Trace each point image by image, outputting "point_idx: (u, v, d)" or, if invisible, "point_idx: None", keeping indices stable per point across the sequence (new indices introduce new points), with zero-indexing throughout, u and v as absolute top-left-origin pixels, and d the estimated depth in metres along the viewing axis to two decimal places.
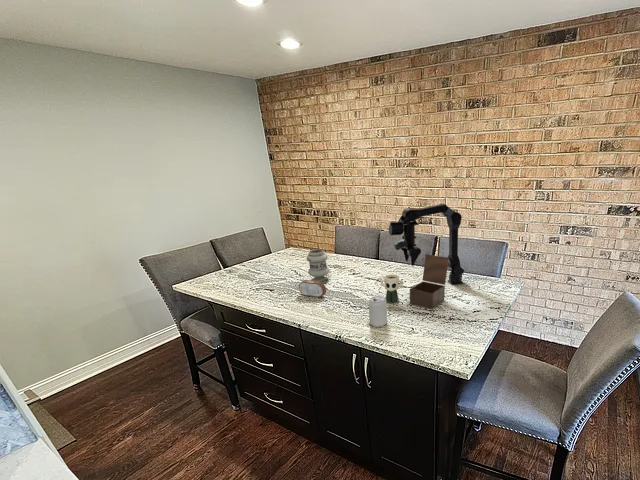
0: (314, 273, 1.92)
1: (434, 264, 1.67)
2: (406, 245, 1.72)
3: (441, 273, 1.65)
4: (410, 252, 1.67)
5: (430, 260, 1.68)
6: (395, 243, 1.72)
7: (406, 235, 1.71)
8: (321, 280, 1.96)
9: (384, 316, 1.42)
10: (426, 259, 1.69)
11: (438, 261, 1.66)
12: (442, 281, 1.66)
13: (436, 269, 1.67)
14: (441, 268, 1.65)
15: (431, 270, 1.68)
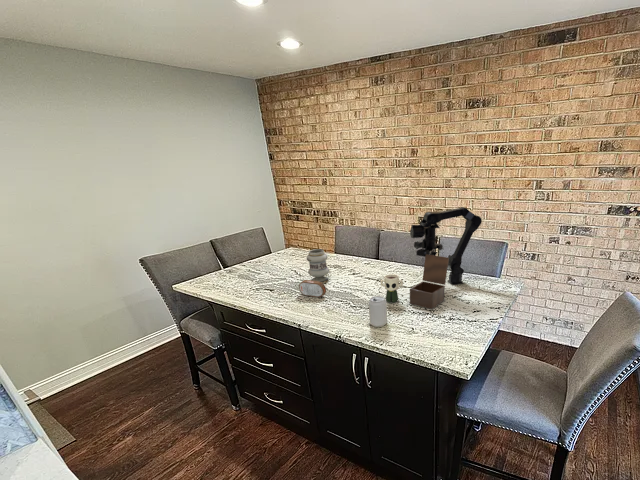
0: (314, 273, 1.92)
1: (434, 264, 1.67)
2: (422, 246, 1.79)
3: (441, 273, 1.65)
4: (416, 253, 1.75)
5: (430, 260, 1.68)
6: None
7: None
8: (321, 280, 1.96)
9: (384, 316, 1.42)
10: (426, 259, 1.69)
11: (438, 261, 1.66)
12: (442, 281, 1.66)
13: (436, 269, 1.67)
14: (441, 268, 1.65)
15: (431, 270, 1.68)
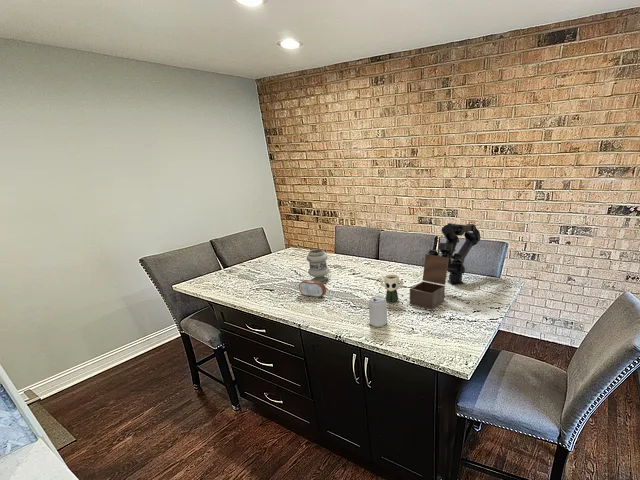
0: (314, 273, 1.92)
1: (434, 264, 1.67)
2: (451, 251, 1.72)
3: (441, 273, 1.65)
4: (460, 256, 1.68)
5: (430, 260, 1.68)
6: None
7: (452, 243, 1.74)
8: (321, 280, 1.96)
9: (384, 316, 1.42)
10: (426, 259, 1.69)
11: (438, 261, 1.66)
12: (442, 281, 1.66)
13: (436, 269, 1.67)
14: (441, 268, 1.65)
15: (431, 270, 1.68)
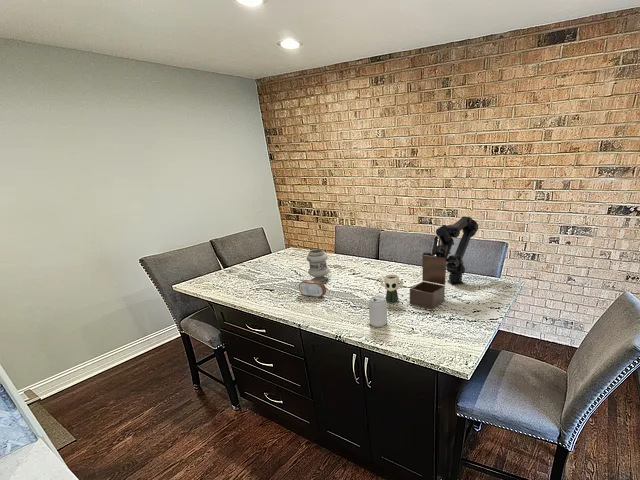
0: (314, 273, 1.92)
1: (432, 265, 1.65)
2: (445, 253, 1.67)
3: (440, 274, 1.65)
4: (455, 259, 1.63)
5: (428, 261, 1.66)
6: None
7: (447, 245, 1.69)
8: (321, 280, 1.96)
9: (384, 316, 1.42)
10: (424, 260, 1.67)
11: (436, 262, 1.64)
12: (442, 281, 1.65)
13: (435, 269, 1.65)
14: (439, 269, 1.64)
15: (430, 270, 1.67)
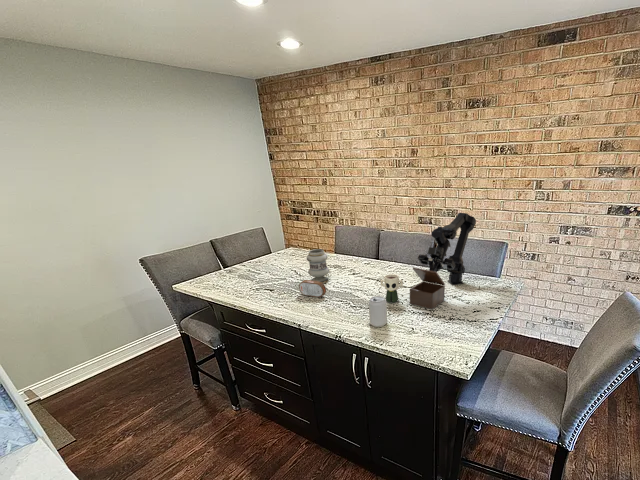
0: (314, 273, 1.92)
1: (425, 274, 1.62)
2: (441, 256, 1.63)
3: (436, 279, 1.62)
4: (451, 261, 1.60)
5: (420, 272, 1.62)
6: (434, 248, 1.61)
7: (443, 247, 1.66)
8: (321, 280, 1.96)
9: (384, 316, 1.42)
10: (416, 271, 1.62)
11: (428, 273, 1.59)
12: (441, 283, 1.65)
13: (430, 277, 1.63)
14: (434, 277, 1.61)
15: (425, 277, 1.65)
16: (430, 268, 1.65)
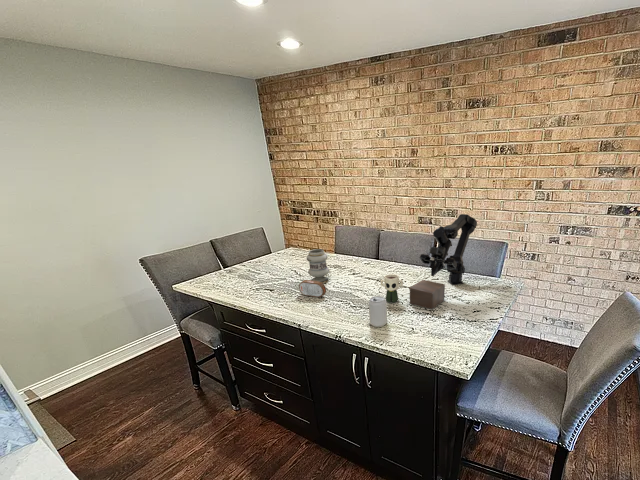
0: (314, 273, 1.92)
1: None
2: (443, 255, 1.65)
3: None
4: (453, 261, 1.61)
5: None
6: (435, 247, 1.62)
7: (444, 247, 1.67)
8: (321, 280, 1.96)
9: (384, 316, 1.42)
10: None
11: None
12: None
13: None
14: None
15: None
16: (432, 267, 1.66)
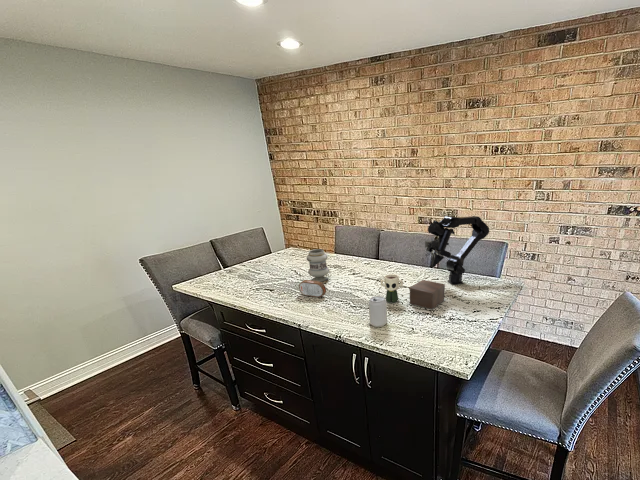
0: (314, 273, 1.92)
1: None
2: (437, 247, 1.74)
3: None
4: (441, 252, 1.69)
5: None
6: (428, 241, 1.74)
7: (441, 238, 1.74)
8: (321, 280, 1.96)
9: (384, 316, 1.42)
10: None
11: None
12: None
13: None
14: None
15: None
16: (432, 259, 1.79)
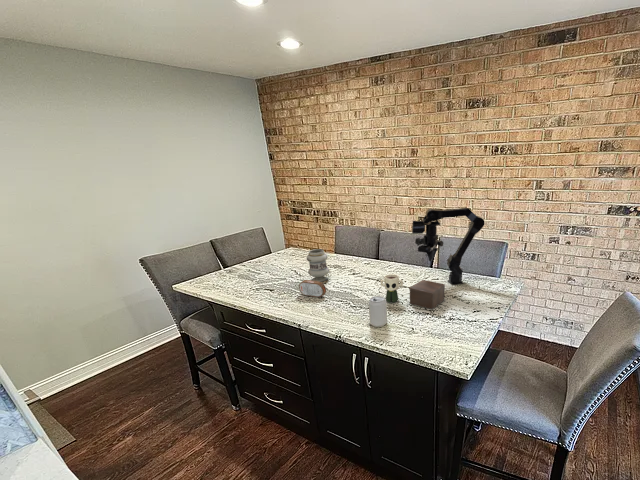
0: (314, 273, 1.92)
1: None
2: (424, 243, 1.82)
3: None
4: (418, 249, 1.78)
5: None
6: None
7: (426, 233, 1.81)
8: (321, 280, 1.96)
9: (384, 316, 1.42)
10: None
11: None
12: None
13: None
14: None
15: None
16: None
